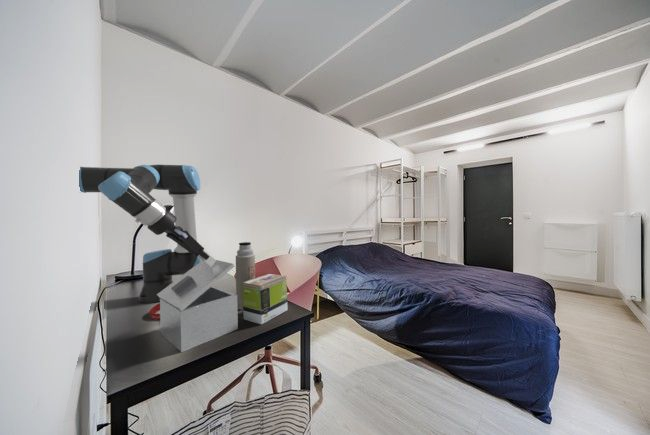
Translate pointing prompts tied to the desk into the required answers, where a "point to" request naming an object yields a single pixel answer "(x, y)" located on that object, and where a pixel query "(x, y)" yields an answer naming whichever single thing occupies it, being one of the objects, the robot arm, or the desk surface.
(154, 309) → the headphones
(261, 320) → the tea box
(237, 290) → the thermos bottle
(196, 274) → the lid
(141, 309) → the desk surface
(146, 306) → the desk surface
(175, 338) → the open-top storage bin
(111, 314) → the desk surface
